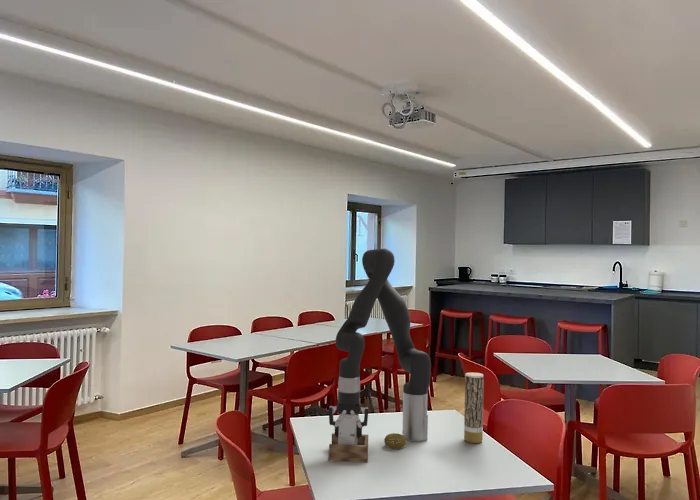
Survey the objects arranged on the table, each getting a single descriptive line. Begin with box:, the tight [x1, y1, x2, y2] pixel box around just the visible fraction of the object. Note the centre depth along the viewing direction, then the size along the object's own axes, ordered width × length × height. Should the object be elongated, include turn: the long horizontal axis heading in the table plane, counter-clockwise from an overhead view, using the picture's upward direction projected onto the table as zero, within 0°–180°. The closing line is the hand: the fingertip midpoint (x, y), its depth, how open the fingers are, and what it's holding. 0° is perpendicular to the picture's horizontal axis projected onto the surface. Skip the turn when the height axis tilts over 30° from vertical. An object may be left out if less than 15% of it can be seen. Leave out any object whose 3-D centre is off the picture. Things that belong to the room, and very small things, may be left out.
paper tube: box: [463, 372, 485, 444], centre depth 198 cm, size 7×7×25 cm
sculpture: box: [383, 432, 407, 450], centre depth 190 cm, size 8×4×8 cm
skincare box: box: [338, 413, 360, 445], centre depth 181 cm, size 6×4×12 cm
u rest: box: [328, 432, 369, 463], centre depth 181 cm, size 13×12×5 cm
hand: (348, 437), depth 181 cm, fingers closed on skincare box, 6 cm apart
